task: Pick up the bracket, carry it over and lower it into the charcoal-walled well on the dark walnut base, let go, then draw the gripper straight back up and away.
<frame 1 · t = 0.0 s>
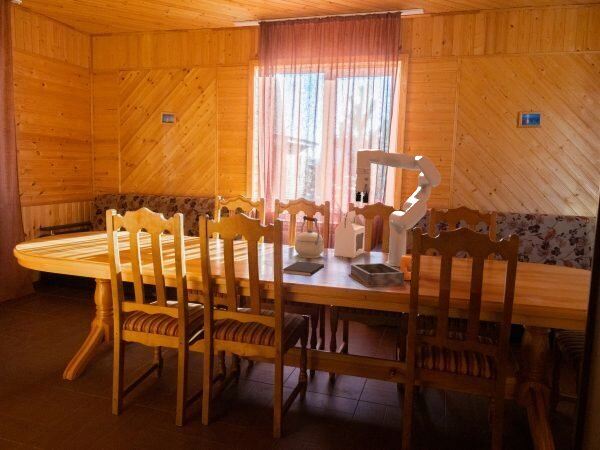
hand: (361, 202, 263), 37 cm above the table, tool pointing down, fingers open, 9 cm apart
gable box: (349, 254, 304), on the table
well: (376, 280, 234), on the table
kettle: (310, 256, 292), on the table
hardcover book: (303, 271, 255), on the table
bracket: (408, 279, 240), on the table
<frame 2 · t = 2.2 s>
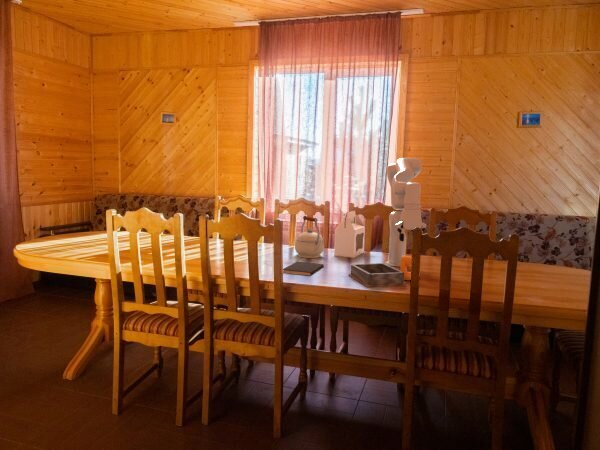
hand: (410, 240, 237), 20 cm above the table, tool pointing down, fingers open, 9 cm apart
nothing on the table moved.
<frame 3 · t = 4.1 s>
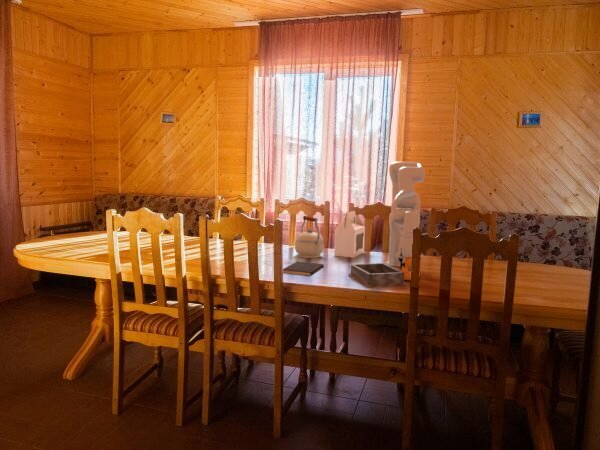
hand: (408, 269, 238), 5 cm above the table, tool pointing down, fingers closed on bracket, 6 cm apart
bracket: (409, 279, 240), on the table, touching gripper
everything else where it was.
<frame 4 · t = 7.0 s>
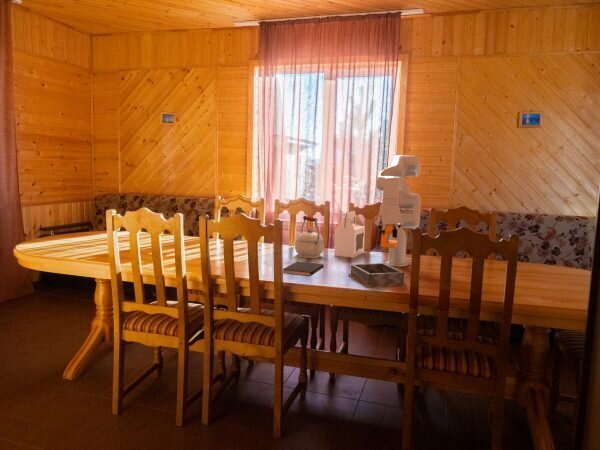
hand: (388, 237, 233), 22 cm above the table, tool pointing down, fingers closed on bracket, 6 cm apart
bracket: (389, 247, 234), point 17 cm above the table, touching gripper
everything else where it was.
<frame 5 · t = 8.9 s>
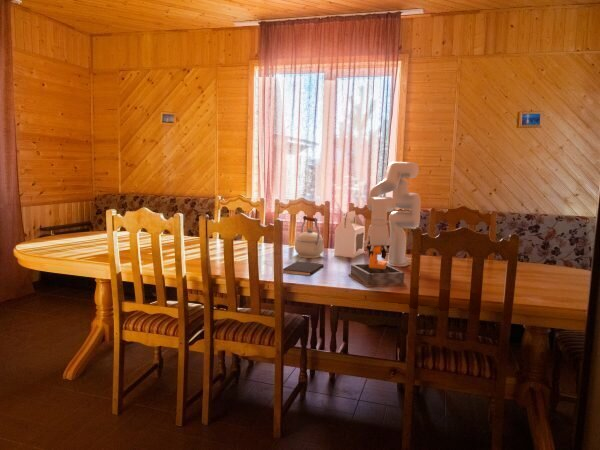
hand: (377, 258, 233), 11 cm above the table, tool pointing down, fingers closed on bracket, 6 cm apart
bracket: (378, 267, 234), point 6 cm above the table, touching gripper
everything else where it was.
when the fingers open (8 cm above the table, at t = 10.0 s): bracket drops 2 cm, resting on well.
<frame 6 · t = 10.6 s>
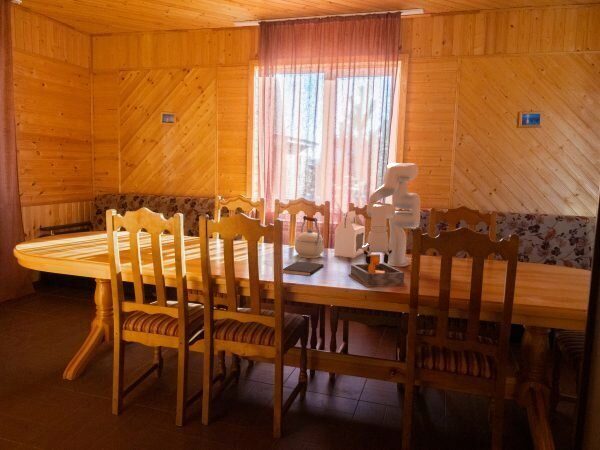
hand: (376, 263, 233), 9 cm above the table, tool pointing down, fingers open, 9 cm apart
bracket: (376, 278, 235), point 1 cm above the table, touching well
everything else where it was.
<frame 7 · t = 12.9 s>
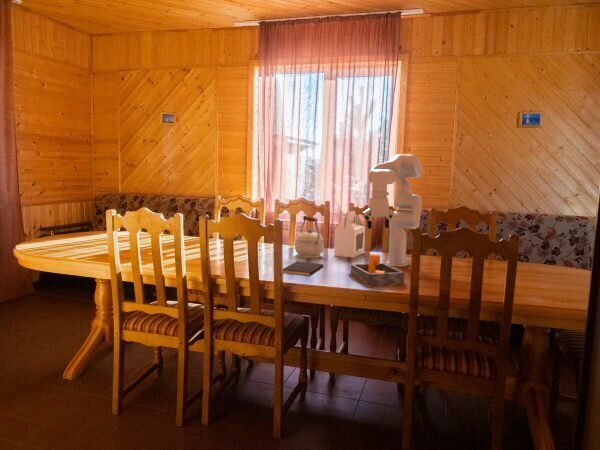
hand: (378, 228, 239), 26 cm above the table, tool pointing down, fingers open, 9 cm apart
nothing on the table moved.
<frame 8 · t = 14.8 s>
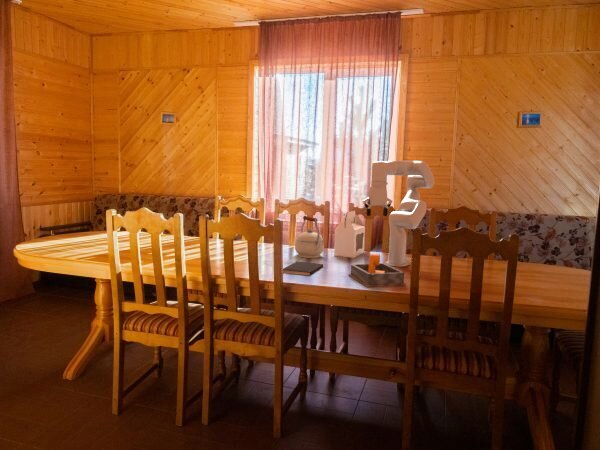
hand: (376, 215, 253), 30 cm above the table, tool pointing down, fingers open, 9 cm apart
nothing on the table moved.
at the end: bracket inside the target area on the well (0.6 cm from its centre), point 1.0 cm above the well's base; the gripper is holding nothing; bracket tilted 0° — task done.
